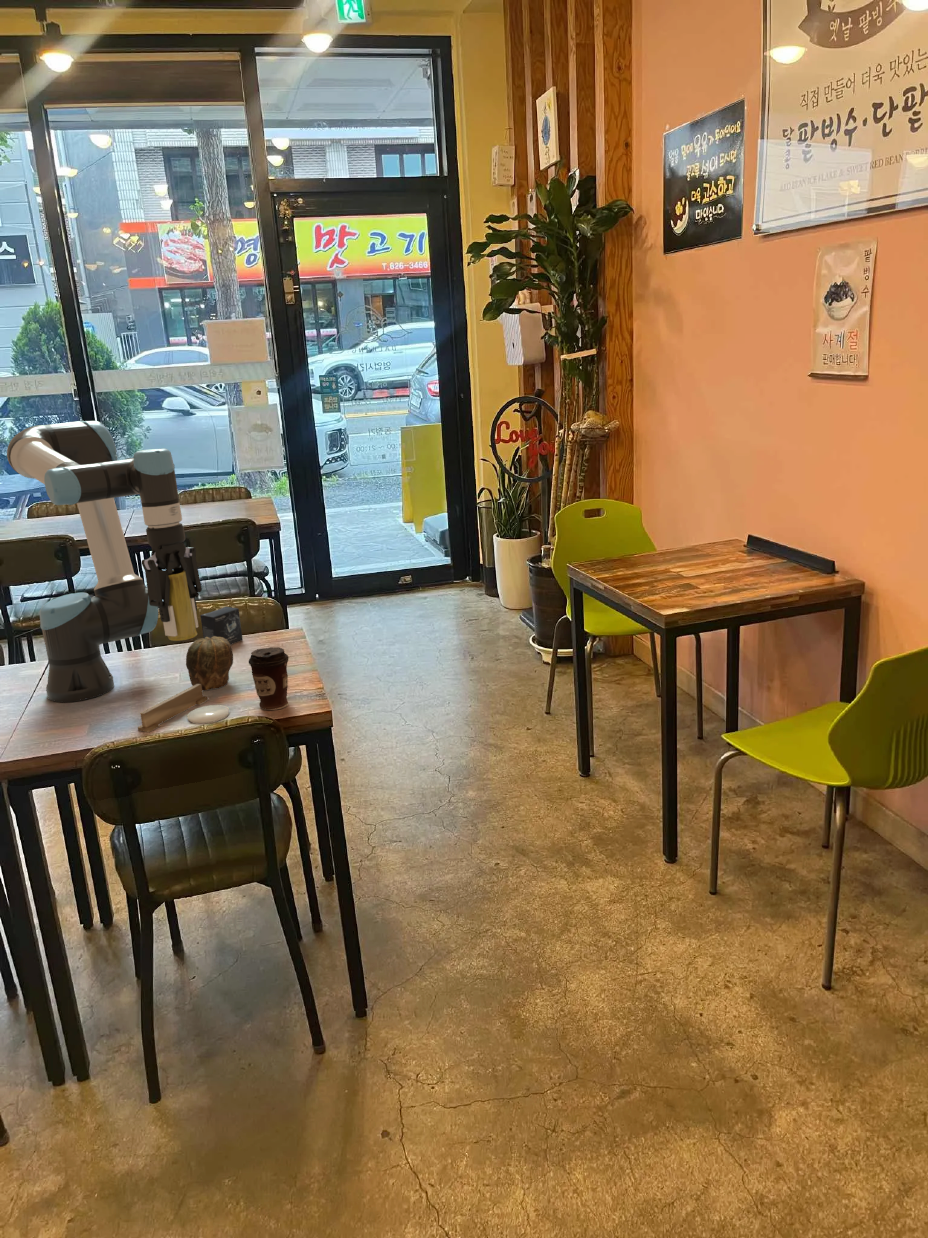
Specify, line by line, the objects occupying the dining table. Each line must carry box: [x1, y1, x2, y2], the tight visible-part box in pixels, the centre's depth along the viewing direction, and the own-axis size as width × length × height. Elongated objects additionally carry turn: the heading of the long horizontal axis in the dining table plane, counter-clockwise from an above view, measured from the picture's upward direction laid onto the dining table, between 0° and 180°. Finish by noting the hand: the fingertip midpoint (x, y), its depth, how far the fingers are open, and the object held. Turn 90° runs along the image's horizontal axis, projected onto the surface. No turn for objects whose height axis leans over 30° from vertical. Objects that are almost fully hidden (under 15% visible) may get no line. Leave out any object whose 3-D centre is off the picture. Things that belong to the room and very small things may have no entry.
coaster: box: [186, 704, 230, 725], centre depth 198 cm, size 9×9×1 cm
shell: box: [185, 636, 234, 692], centre depth 215 cm, size 11×11×12 cm
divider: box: [137, 684, 209, 733], centre depth 199 cm, size 3×19×4 cm, turn 155°
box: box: [199, 606, 243, 646], centre depth 246 cm, size 9×6×10 cm, turn 147°
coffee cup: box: [248, 646, 290, 711], centre depth 199 cm, size 9×8×13 cm
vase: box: [167, 570, 198, 642], centre depth 191 cm, size 6×6×14 cm
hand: (182, 631), depth 192 cm, fingers closed on vase, 6 cm apart
